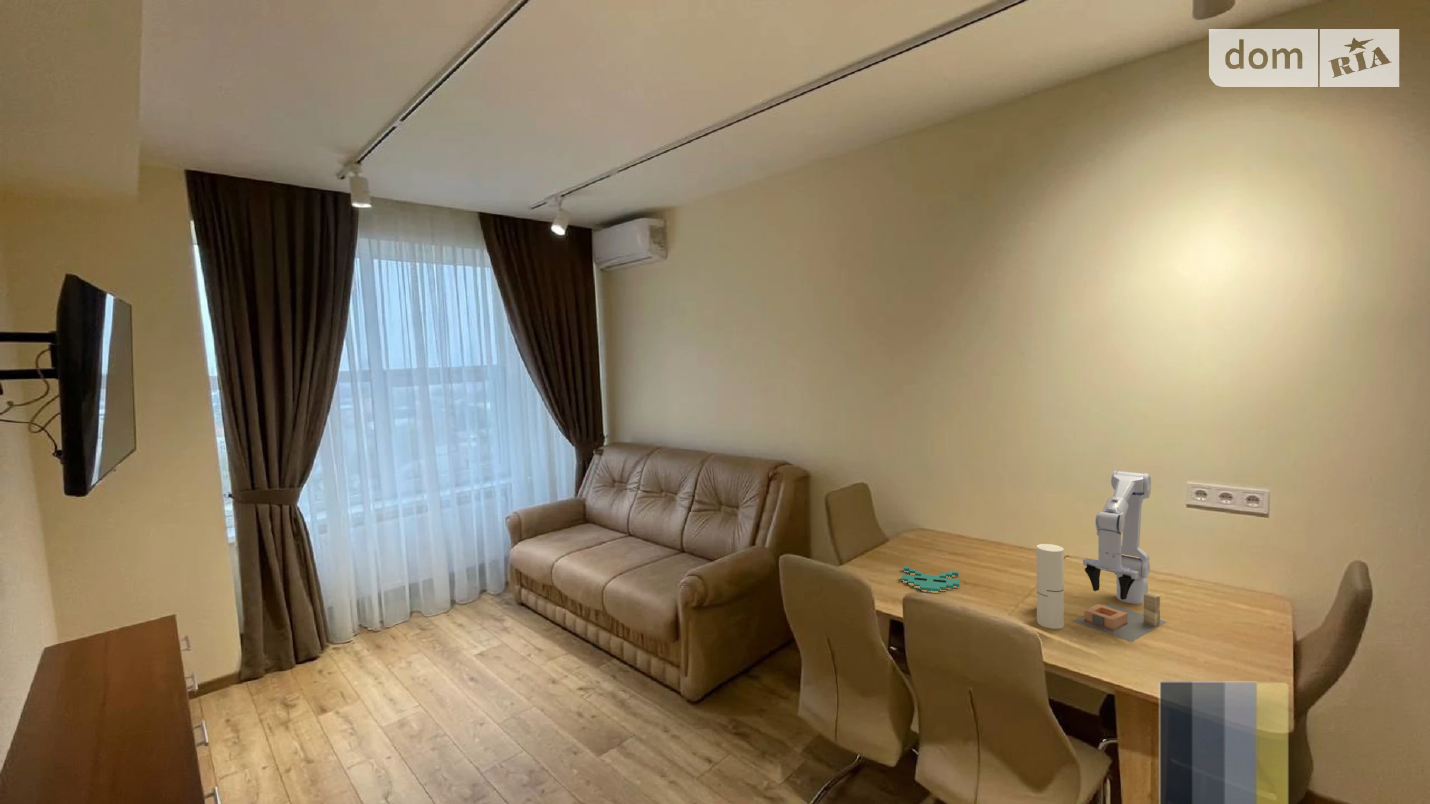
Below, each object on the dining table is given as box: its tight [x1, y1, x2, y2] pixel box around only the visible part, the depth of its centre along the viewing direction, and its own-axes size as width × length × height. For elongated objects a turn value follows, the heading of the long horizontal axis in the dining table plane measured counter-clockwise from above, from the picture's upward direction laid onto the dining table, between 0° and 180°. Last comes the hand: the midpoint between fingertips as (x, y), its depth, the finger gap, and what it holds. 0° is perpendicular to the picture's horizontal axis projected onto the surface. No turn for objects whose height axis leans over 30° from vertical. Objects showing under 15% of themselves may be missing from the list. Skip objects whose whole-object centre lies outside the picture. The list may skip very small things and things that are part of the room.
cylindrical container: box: [1036, 543, 1065, 630], centre depth 172 cm, size 7×7×25 cm
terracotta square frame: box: [1083, 603, 1128, 631], centre depth 172 cm, size 9×8×3 cm
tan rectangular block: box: [1143, 591, 1161, 627], centre depth 170 cm, size 3×3×9 cm
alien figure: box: [901, 565, 960, 592], centre depth 211 cm, size 20×2×20 cm
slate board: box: [1073, 603, 1167, 643], centre depth 172 cm, size 22×16×1 cm
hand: (1109, 594), depth 172 cm, fingers open, 7 cm apart
